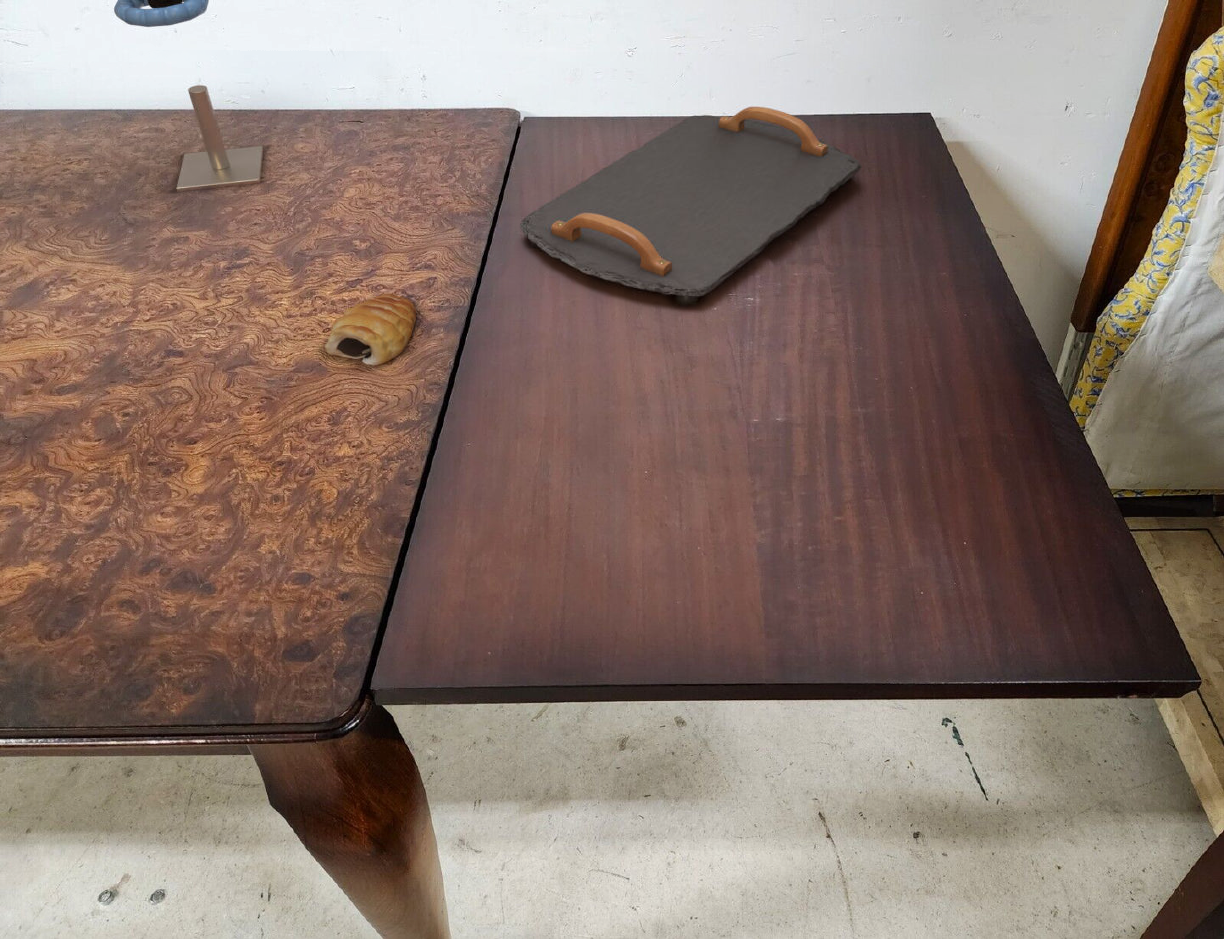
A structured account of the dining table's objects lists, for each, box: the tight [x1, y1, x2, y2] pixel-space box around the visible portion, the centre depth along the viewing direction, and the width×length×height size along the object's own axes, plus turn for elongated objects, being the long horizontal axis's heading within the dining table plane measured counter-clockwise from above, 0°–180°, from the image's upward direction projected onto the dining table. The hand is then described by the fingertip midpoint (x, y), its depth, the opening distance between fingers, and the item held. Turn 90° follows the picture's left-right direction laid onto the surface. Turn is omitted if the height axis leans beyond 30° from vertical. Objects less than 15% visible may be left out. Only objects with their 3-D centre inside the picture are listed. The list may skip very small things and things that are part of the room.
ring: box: [113, 0, 210, 28], centre depth 98 cm, size 9×9×2 cm
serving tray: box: [519, 106, 862, 307], centre depth 104 cm, size 39×23×6 cm, turn 143°
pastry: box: [324, 293, 417, 366], centre depth 88 cm, size 9×7×4 cm
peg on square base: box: [176, 84, 264, 193], centre depth 110 cm, size 9×9×10 cm
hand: (168, 0), depth 101 cm, fingers closed on ring, 2 cm apart
